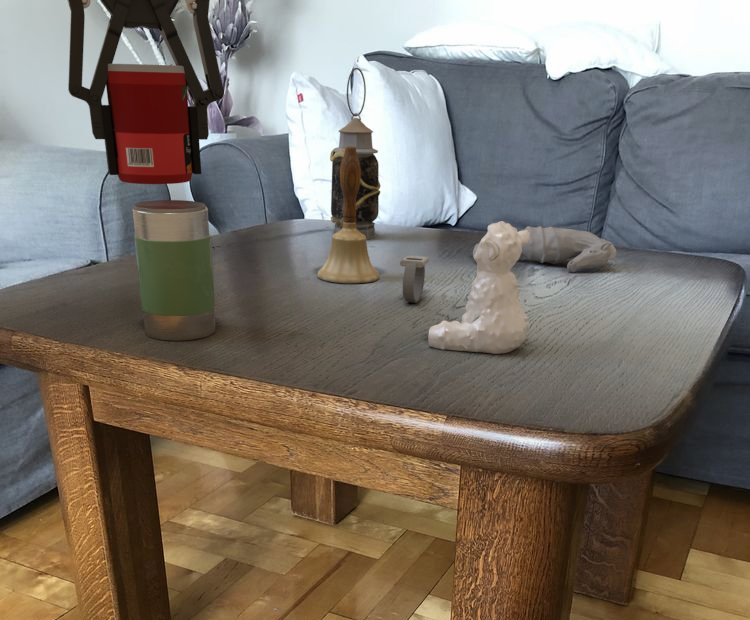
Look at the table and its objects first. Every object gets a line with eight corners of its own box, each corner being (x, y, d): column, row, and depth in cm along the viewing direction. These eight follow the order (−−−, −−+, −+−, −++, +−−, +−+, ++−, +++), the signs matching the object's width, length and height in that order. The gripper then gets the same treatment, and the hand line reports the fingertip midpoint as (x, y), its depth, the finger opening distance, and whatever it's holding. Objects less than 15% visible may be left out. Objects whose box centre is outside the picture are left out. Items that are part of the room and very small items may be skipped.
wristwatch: (407, 294, 100) (409, 252, 98) (429, 296, 100) (431, 254, 98) (395, 306, 95) (396, 262, 93) (418, 308, 94) (420, 264, 92)
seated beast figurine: (475, 328, 87) (485, 210, 82) (547, 344, 83) (562, 220, 77) (422, 346, 81) (429, 219, 75) (497, 365, 76) (510, 231, 71)
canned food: (204, 182, 87) (197, 66, 82) (131, 186, 83) (118, 63, 78) (177, 175, 93) (168, 65, 88) (107, 178, 89) (93, 63, 84)
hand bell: (391, 276, 109) (396, 147, 102) (354, 287, 103) (355, 150, 96) (343, 268, 114) (343, 143, 106) (304, 277, 108) (302, 145, 100)
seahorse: (479, 264, 113) (624, 245, 112) (467, 222, 120) (603, 204, 120) (479, 296, 116) (620, 278, 116) (468, 253, 124) (600, 236, 124)
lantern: (344, 230, 141) (345, 67, 130) (387, 235, 139) (392, 68, 127) (321, 238, 134) (321, 66, 123) (366, 243, 131) (370, 67, 120)
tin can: (129, 331, 83) (115, 204, 77) (184, 318, 88) (174, 197, 82) (176, 345, 79) (164, 212, 73) (231, 330, 84) (224, 205, 79)
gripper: (10, -103, 71) (51, 178, 81) (248, -82, 77) (258, 175, 88) (13, -88, 77) (51, 170, 88) (233, -70, 84) (244, 169, 94)
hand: (155, 173), depth 88 cm, fingers closed on canned food, 8 cm apart
